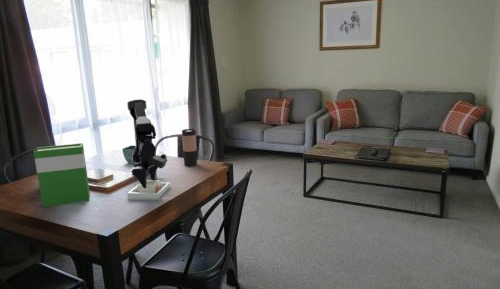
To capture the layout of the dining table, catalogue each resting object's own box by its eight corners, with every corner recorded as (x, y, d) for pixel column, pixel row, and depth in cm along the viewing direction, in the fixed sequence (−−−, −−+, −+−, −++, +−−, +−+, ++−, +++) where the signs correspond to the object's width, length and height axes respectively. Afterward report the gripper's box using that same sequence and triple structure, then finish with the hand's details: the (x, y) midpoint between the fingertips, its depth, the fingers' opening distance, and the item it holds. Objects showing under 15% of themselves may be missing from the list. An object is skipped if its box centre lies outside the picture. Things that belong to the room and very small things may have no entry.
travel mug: (181, 165, 201) (179, 131, 196) (188, 162, 208) (186, 128, 203) (193, 167, 198) (191, 132, 193) (200, 163, 205) (198, 129, 200)
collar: (157, 195, 156) (156, 185, 155) (139, 194, 157) (138, 185, 156) (163, 189, 163) (162, 180, 162) (145, 189, 164) (144, 179, 163)
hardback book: (42, 207, 148) (33, 151, 142) (45, 200, 155) (36, 147, 149) (89, 200, 154) (81, 146, 149) (89, 194, 161) (82, 143, 155)
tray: (128, 199, 155) (127, 192, 154) (142, 187, 168) (141, 181, 168) (158, 200, 153) (158, 194, 152) (170, 188, 166) (170, 182, 166)
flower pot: (145, 160, 213) (143, 146, 210) (136, 164, 205) (134, 149, 202) (132, 159, 215) (131, 145, 213) (123, 163, 207) (121, 148, 205)
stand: (141, 186, 170) (140, 172, 169) (150, 179, 180) (149, 165, 178) (161, 186, 169) (160, 172, 167) (169, 179, 178) (168, 166, 177)
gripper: (155, 157, 145) (158, 192, 149) (171, 145, 163) (173, 178, 167) (129, 156, 147) (133, 191, 151) (148, 145, 165) (151, 177, 169)
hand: (149, 184), depth 159 cm, fingers open, 9 cm apart
